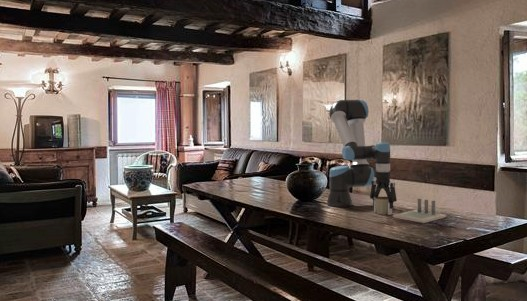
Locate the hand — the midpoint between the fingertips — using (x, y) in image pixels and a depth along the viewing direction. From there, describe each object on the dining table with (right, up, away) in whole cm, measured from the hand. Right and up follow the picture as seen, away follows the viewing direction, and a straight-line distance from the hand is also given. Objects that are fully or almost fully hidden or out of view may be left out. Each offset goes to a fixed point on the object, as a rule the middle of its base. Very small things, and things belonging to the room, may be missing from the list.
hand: (383, 213), depth 234 cm
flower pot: (0, 0, 0) cm, 1 cm away
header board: (+16, -1, -10) cm, 19 cm away
